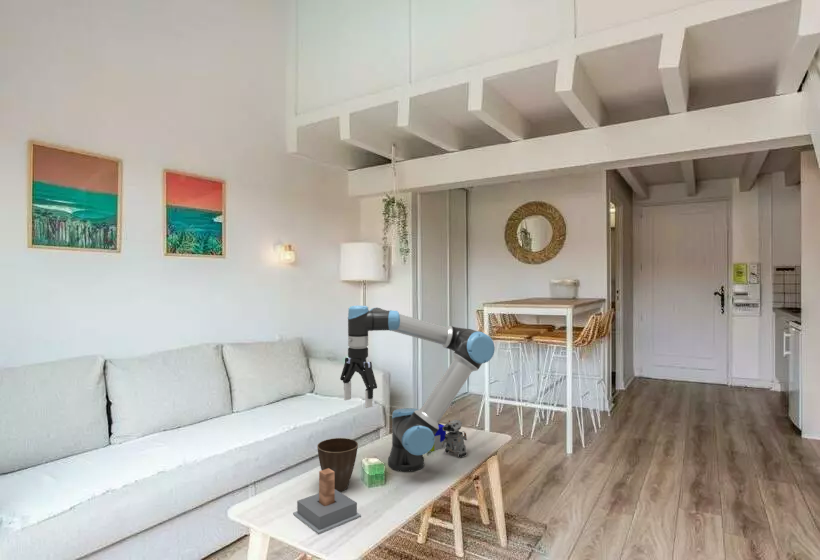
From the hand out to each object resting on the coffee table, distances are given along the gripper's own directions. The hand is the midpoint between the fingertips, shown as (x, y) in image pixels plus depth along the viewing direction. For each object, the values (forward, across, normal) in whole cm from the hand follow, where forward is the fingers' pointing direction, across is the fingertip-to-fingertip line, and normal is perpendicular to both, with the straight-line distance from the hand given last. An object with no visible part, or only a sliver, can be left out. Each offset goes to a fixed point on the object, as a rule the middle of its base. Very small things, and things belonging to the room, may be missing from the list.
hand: (357, 403), depth 179 cm
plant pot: (+31, -3, -7) cm, 32 cm away
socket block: (+31, +12, -21) cm, 39 cm away
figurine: (+31, +4, +48) cm, 57 cm away
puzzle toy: (+31, -10, +48) cm, 58 cm away
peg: (+30, +12, -21) cm, 39 cm away
